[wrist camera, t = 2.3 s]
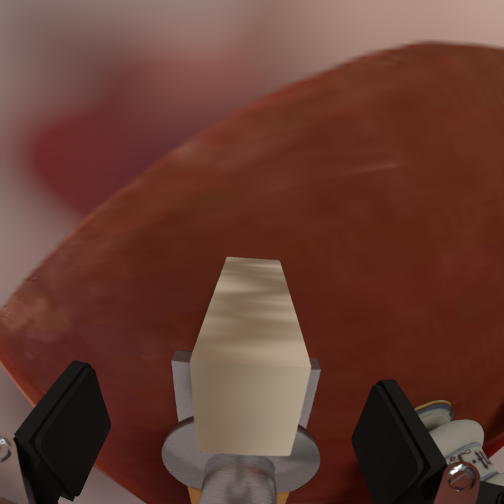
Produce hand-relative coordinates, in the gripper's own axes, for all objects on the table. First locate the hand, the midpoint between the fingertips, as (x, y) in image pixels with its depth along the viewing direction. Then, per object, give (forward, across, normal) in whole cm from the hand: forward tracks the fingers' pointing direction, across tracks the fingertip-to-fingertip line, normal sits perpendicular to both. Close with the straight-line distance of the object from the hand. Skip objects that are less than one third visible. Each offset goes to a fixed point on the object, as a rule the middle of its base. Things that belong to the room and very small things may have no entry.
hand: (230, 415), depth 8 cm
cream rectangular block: (+12, -1, 0) cm, 12 cm away
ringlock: (+12, -1, +18) cm, 22 cm away
